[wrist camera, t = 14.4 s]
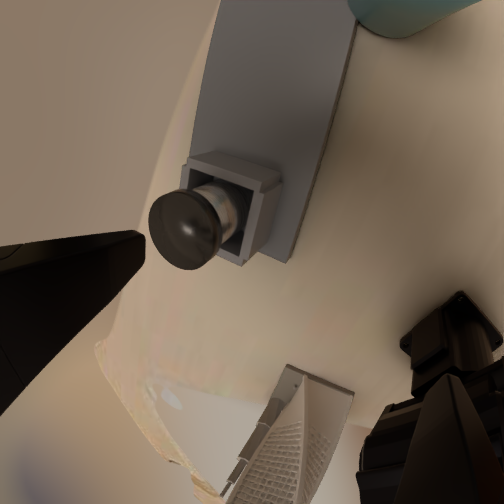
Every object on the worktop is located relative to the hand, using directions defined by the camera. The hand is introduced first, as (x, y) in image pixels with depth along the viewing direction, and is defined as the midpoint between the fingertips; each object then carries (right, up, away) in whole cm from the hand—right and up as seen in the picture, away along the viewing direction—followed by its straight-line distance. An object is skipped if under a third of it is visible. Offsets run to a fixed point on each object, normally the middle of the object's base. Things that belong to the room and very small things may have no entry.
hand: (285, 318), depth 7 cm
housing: (+1, +16, +8) cm, 18 cm away
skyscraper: (+6, -12, +20) cm, 24 cm away
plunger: (-2, +5, +13) cm, 14 cm away
